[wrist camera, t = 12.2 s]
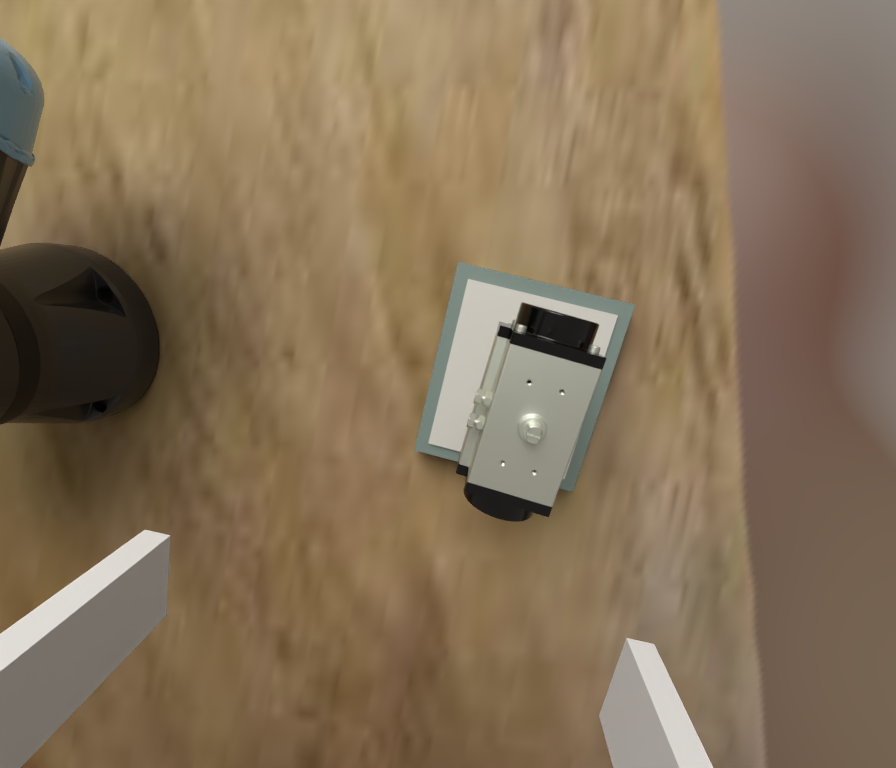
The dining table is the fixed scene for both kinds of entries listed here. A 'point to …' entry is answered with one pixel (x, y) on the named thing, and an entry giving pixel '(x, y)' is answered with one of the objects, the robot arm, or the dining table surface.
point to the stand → (470, 341)
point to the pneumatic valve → (529, 412)
